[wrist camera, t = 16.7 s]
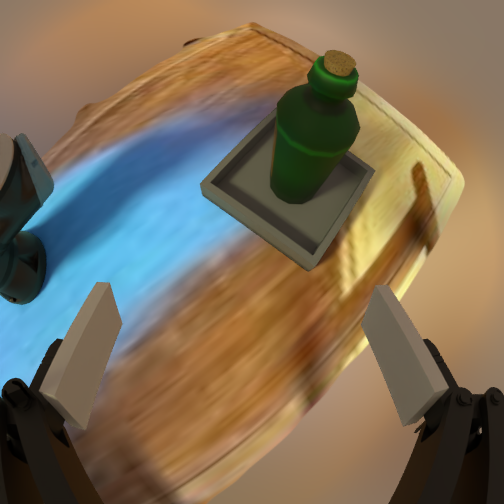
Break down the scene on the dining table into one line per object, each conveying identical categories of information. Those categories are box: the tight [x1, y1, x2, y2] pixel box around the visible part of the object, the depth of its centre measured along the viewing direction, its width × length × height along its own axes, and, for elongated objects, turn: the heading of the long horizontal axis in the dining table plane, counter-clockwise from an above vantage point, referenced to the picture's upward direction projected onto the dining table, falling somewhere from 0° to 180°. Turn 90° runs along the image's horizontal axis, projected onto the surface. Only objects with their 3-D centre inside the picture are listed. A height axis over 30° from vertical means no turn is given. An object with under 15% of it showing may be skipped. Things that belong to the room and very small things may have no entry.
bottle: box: [270, 50, 360, 204], centre depth 35 cm, size 11×11×28 cm
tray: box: [200, 107, 375, 271], centre depth 47 cm, size 22×22×4 cm
